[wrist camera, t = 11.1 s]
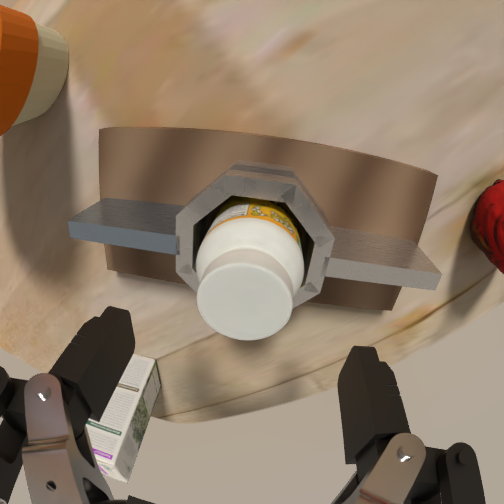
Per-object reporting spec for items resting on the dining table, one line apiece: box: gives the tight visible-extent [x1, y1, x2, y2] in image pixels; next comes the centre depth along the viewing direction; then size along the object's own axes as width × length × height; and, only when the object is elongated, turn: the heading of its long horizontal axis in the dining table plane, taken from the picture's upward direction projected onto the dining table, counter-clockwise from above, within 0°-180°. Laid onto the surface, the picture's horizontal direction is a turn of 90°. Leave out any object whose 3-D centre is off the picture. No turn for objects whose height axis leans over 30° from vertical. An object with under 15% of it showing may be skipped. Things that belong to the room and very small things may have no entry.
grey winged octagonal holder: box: [68, 160, 442, 308], centre depth 18 cm, size 24×8×5 cm, turn 83°
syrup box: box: [86, 354, 161, 482], centre depth 25 cm, size 6×6×14 cm
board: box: [99, 127, 438, 311], centre depth 21 cm, size 25×12×2 cm, turn 83°
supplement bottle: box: [196, 195, 304, 341], centre depth 16 cm, size 5×5×10 cm
